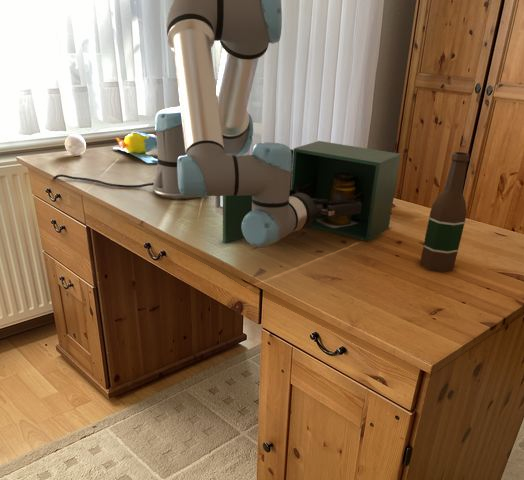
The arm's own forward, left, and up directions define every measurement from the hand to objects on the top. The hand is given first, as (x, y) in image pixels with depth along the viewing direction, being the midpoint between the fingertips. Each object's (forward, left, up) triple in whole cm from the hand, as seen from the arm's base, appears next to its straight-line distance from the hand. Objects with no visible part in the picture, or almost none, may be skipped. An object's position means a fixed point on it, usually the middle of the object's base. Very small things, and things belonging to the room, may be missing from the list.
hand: (336, 192), depth 134 cm
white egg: (-83, +72, -9) cm, 110 cm away
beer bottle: (+20, -23, -9) cm, 32 cm away
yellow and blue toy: (-62, +76, -9) cm, 98 cm away
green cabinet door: (-21, -3, -9) cm, 23 cm away
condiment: (+1, +2, -8) cm, 9 cm away
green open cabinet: (+2, +3, -9) cm, 10 cm away
